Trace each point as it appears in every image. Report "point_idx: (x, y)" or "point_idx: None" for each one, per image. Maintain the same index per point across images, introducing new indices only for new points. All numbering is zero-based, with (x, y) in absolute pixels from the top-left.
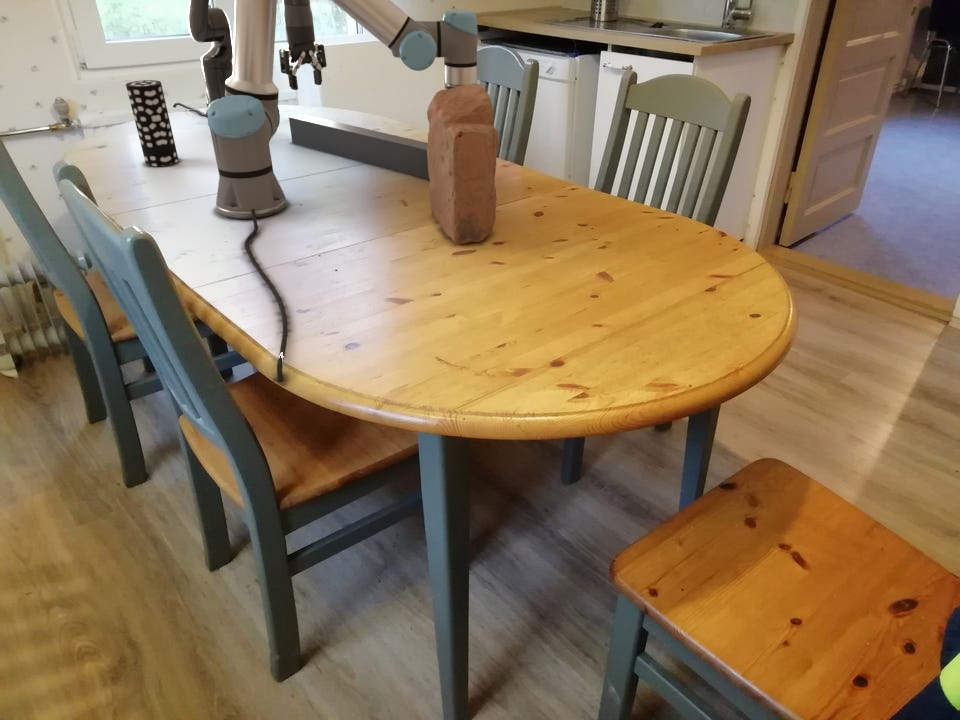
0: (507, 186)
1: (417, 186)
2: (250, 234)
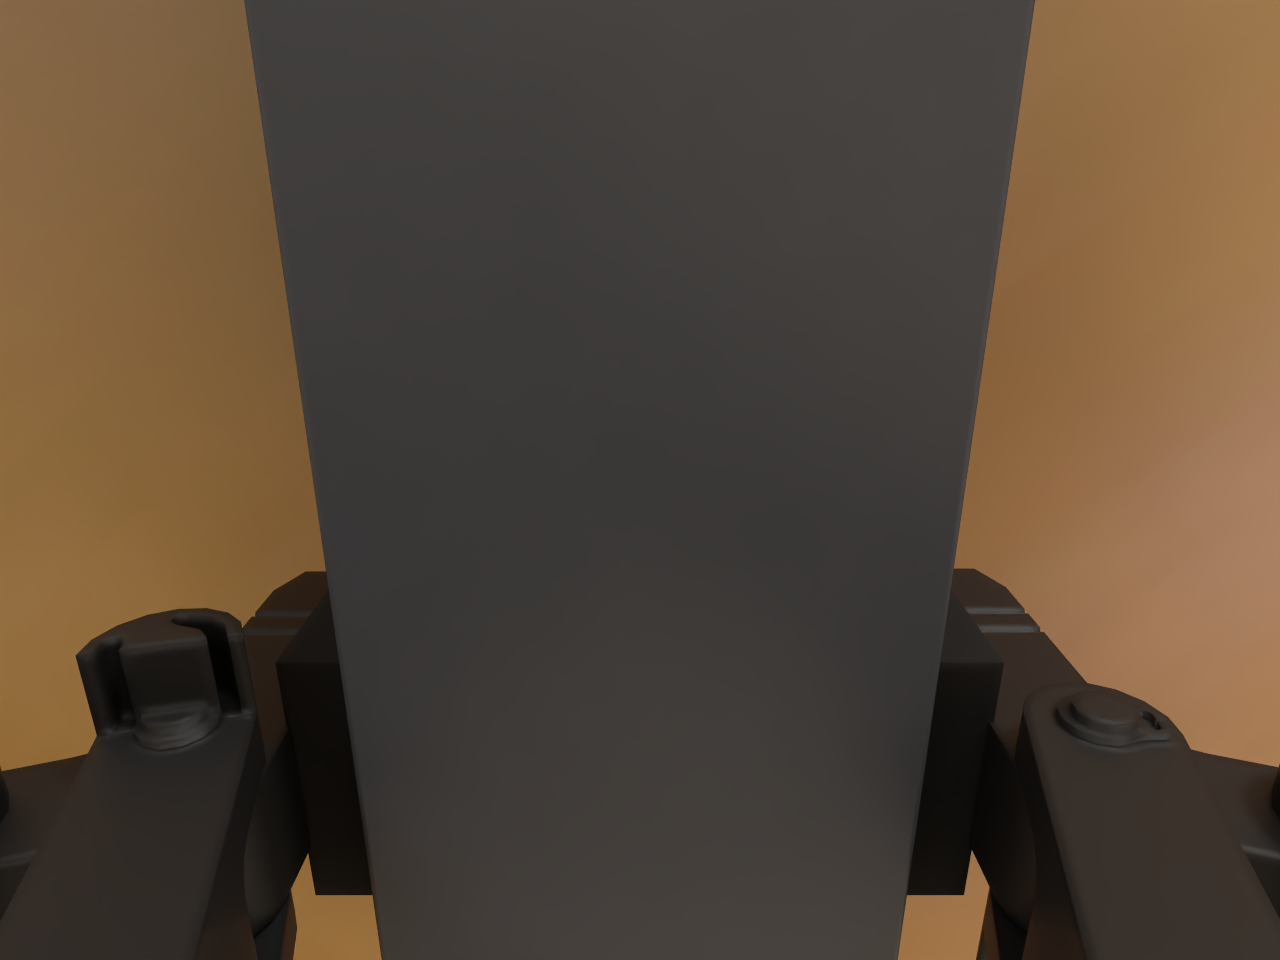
0: (918, 941)
1: (53, 15)
2: None
